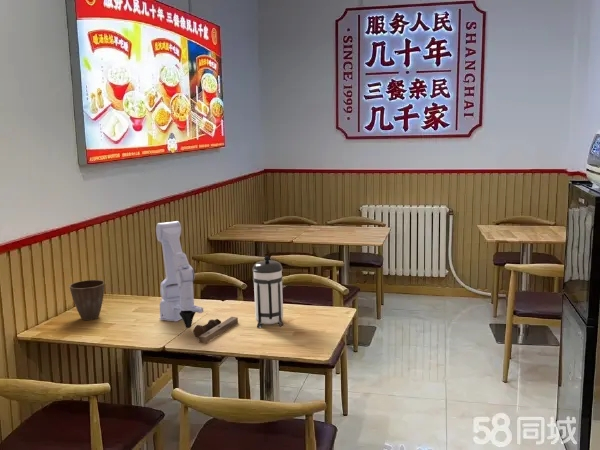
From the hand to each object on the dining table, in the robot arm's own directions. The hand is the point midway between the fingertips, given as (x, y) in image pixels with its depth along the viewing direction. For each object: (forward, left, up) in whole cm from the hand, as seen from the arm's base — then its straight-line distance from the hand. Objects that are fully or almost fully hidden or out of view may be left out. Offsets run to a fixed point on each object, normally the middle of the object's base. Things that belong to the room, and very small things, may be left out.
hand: (188, 327), depth 248 cm
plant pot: (-53, -1, -1) cm, 53 cm away
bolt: (+10, +1, -2) cm, 10 cm away
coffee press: (+30, +18, -1) cm, 35 cm away
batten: (+14, +2, -1) cm, 14 cm away
